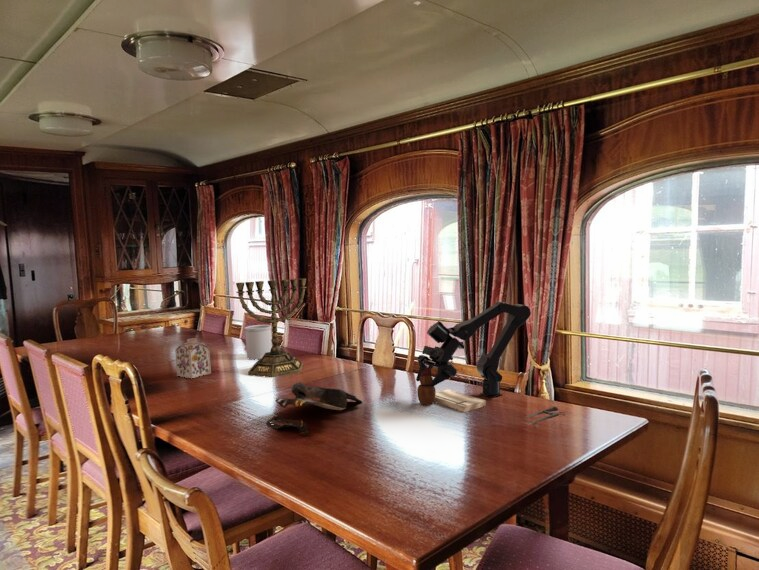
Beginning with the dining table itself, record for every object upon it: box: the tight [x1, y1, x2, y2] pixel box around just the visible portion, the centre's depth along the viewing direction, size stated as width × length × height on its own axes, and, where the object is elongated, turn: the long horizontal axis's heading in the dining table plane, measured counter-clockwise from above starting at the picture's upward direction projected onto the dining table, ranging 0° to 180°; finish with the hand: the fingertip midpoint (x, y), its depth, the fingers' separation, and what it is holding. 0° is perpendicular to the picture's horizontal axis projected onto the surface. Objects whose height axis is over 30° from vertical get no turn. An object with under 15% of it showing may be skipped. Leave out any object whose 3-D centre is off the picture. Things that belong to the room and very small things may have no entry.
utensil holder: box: [243, 324, 273, 360], centre depth 286 cm, size 15×15×18 cm
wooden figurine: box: [416, 365, 437, 406], centre depth 191 cm, size 7×6×15 cm
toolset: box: [266, 381, 364, 436], centre depth 183 cm, size 40×20×27 cm
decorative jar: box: [174, 337, 212, 380], centre depth 248 cm, size 12×12×18 cm
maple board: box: [434, 388, 487, 413], centre depth 192 cm, size 11×20×2 cm, turn 36°
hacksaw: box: [517, 406, 566, 431], centre depth 172 cm, size 24×10×2 cm, turn 121°
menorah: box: [235, 278, 307, 378], centre depth 252 cm, size 36×25×45 cm
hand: (424, 383), depth 191 cm, fingers open, 9 cm apart
